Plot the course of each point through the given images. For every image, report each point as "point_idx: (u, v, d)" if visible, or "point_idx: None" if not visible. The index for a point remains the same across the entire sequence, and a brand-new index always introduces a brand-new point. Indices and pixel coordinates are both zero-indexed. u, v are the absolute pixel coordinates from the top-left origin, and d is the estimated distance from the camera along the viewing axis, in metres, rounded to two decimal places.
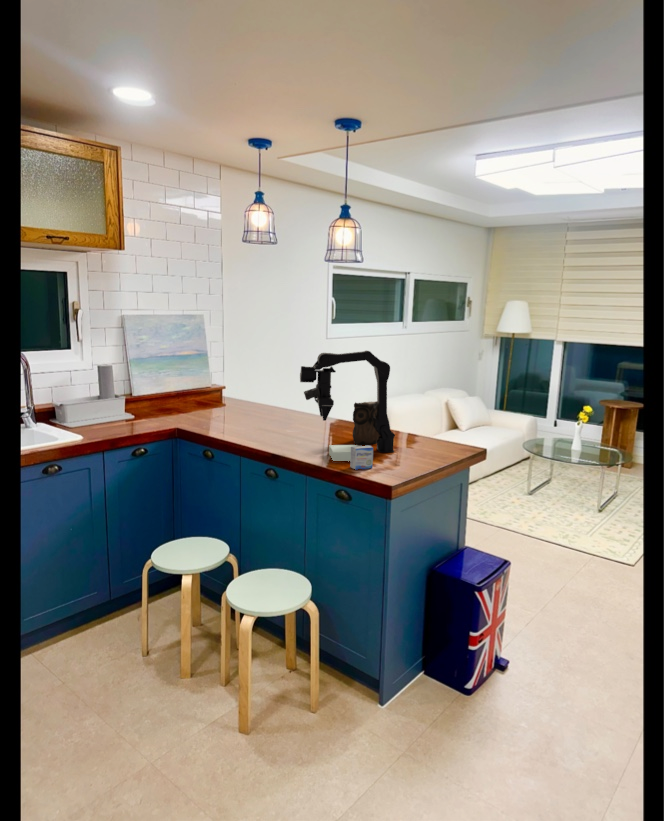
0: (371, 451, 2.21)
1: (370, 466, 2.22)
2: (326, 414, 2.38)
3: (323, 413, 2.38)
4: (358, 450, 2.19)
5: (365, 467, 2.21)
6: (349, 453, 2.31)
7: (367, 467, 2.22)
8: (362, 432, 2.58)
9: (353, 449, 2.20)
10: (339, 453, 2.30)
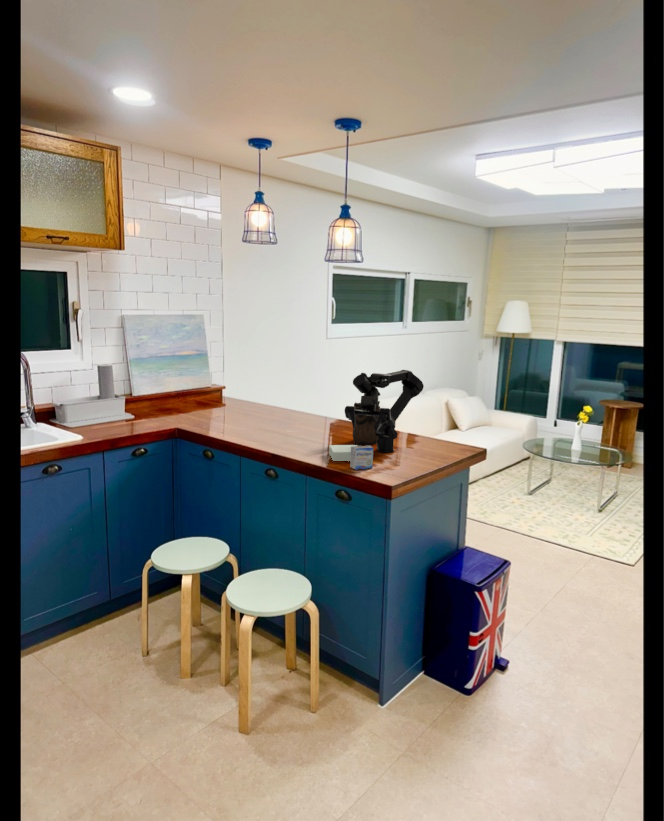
0: (371, 451, 2.21)
1: (370, 466, 2.22)
2: (379, 426, 2.29)
3: (379, 424, 2.28)
4: (358, 450, 2.19)
5: (365, 467, 2.21)
6: (349, 453, 2.31)
7: (367, 467, 2.22)
8: (362, 432, 2.58)
9: (353, 449, 2.20)
10: (339, 453, 2.30)
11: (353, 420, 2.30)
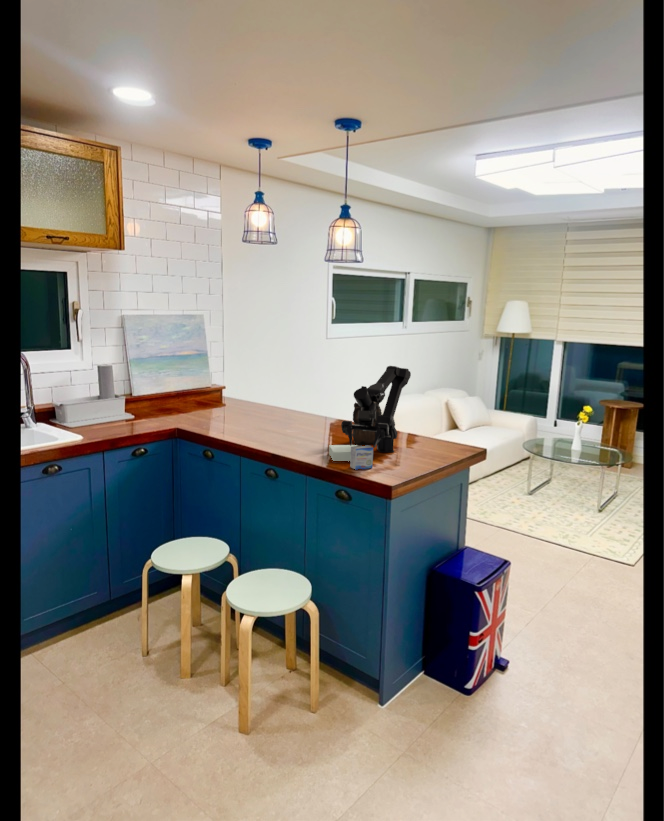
0: (371, 451, 2.21)
1: (370, 466, 2.22)
2: (377, 442, 2.23)
3: (377, 439, 2.22)
4: (358, 450, 2.19)
5: (365, 467, 2.21)
6: (349, 453, 2.31)
7: (367, 467, 2.22)
8: (362, 432, 2.58)
9: (353, 449, 2.20)
10: (339, 453, 2.30)
11: (350, 435, 2.24)
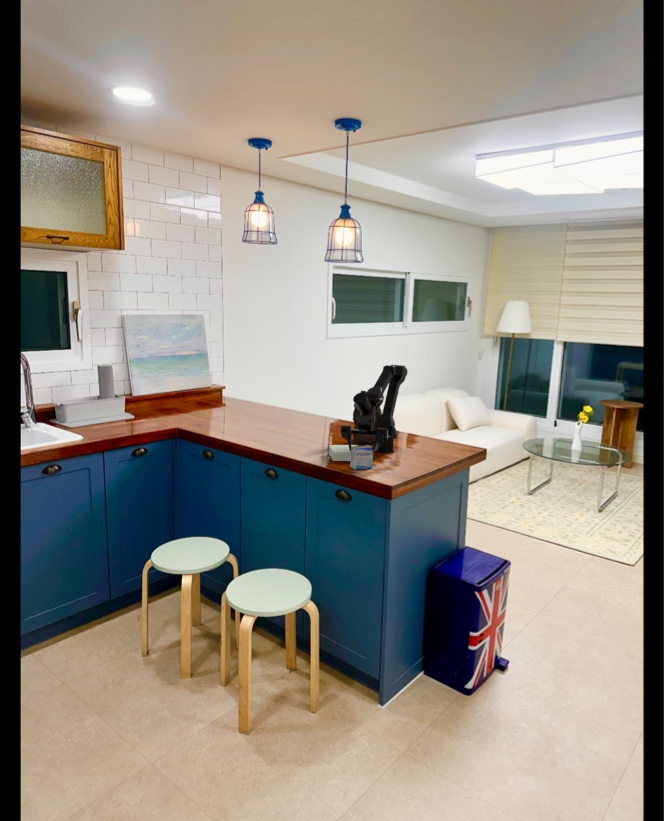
0: (371, 451, 2.21)
1: (370, 466, 2.22)
2: (376, 447, 2.21)
3: (376, 444, 2.21)
4: (358, 449, 2.19)
5: (365, 467, 2.21)
6: (349, 453, 2.31)
7: (367, 467, 2.22)
8: None
9: (353, 449, 2.20)
10: (339, 453, 2.30)
11: (349, 440, 2.23)
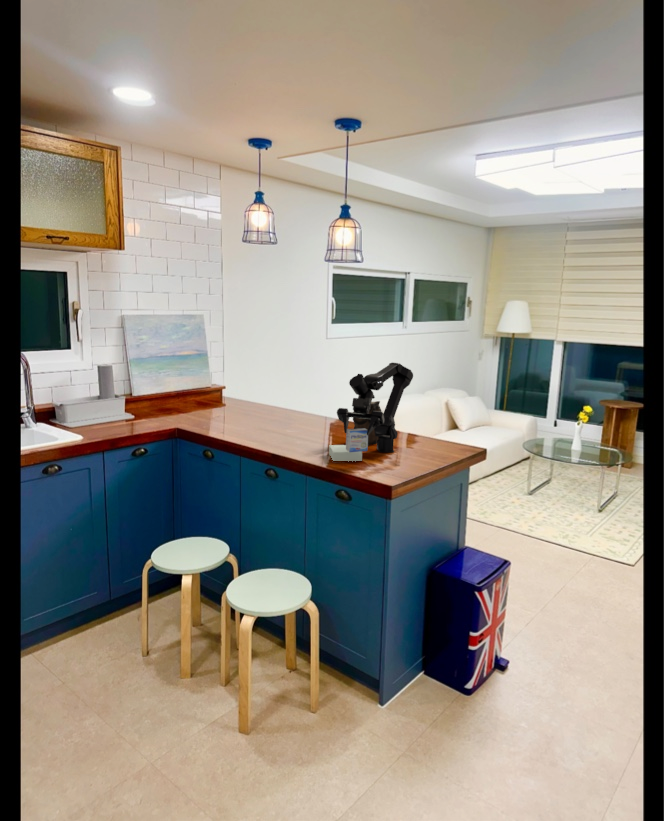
0: (366, 434, 2.23)
1: (365, 449, 2.24)
2: (371, 430, 2.23)
3: (371, 427, 2.22)
4: (353, 432, 2.21)
5: (360, 449, 2.23)
6: (349, 453, 2.31)
7: (362, 450, 2.23)
8: None
9: (348, 431, 2.22)
10: (339, 453, 2.30)
11: (345, 423, 2.25)
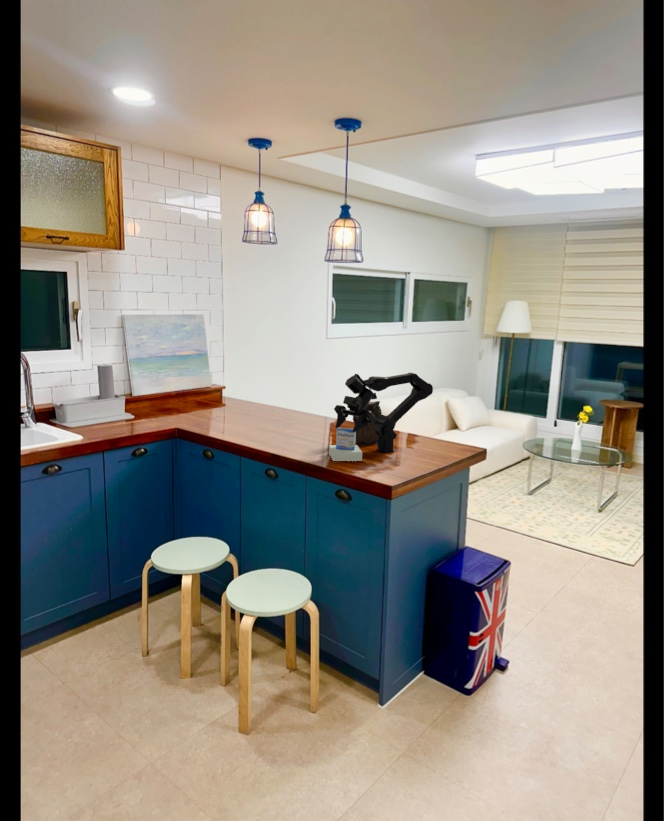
0: (353, 433, 2.33)
1: (352, 447, 2.34)
2: (359, 427, 2.32)
3: (358, 425, 2.31)
4: (339, 430, 2.33)
5: (346, 448, 2.34)
6: (349, 453, 2.31)
7: (349, 448, 2.34)
8: (362, 432, 2.58)
9: None
10: (339, 453, 2.30)
11: (338, 419, 2.38)
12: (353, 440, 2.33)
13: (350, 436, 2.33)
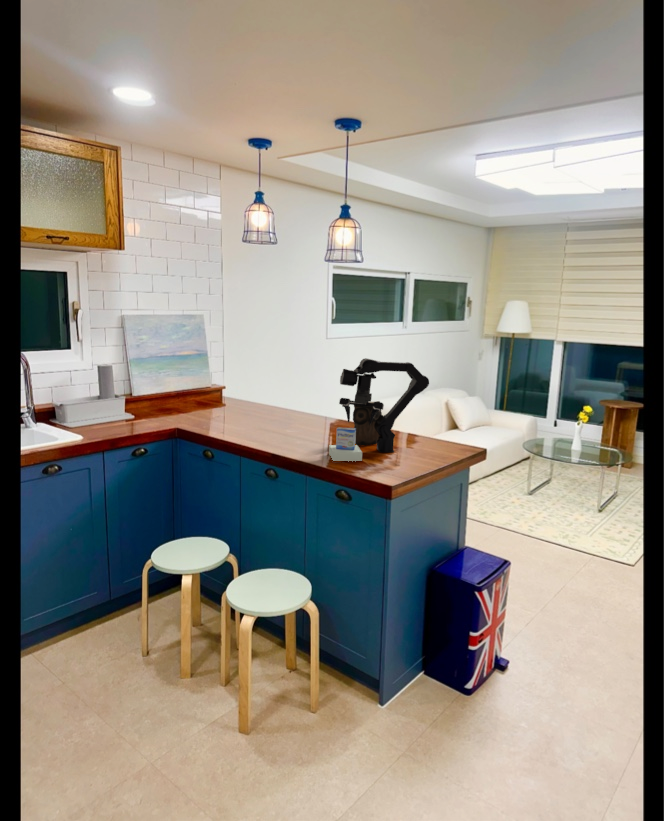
0: (353, 433, 2.33)
1: (352, 447, 2.34)
2: None
3: (373, 417, 2.41)
4: (339, 430, 2.33)
5: (346, 448, 2.34)
6: (349, 453, 2.31)
7: (349, 448, 2.34)
8: (362, 432, 2.58)
9: None
10: (339, 453, 2.30)
11: (348, 413, 2.42)
12: (353, 440, 2.33)
13: (350, 436, 2.33)
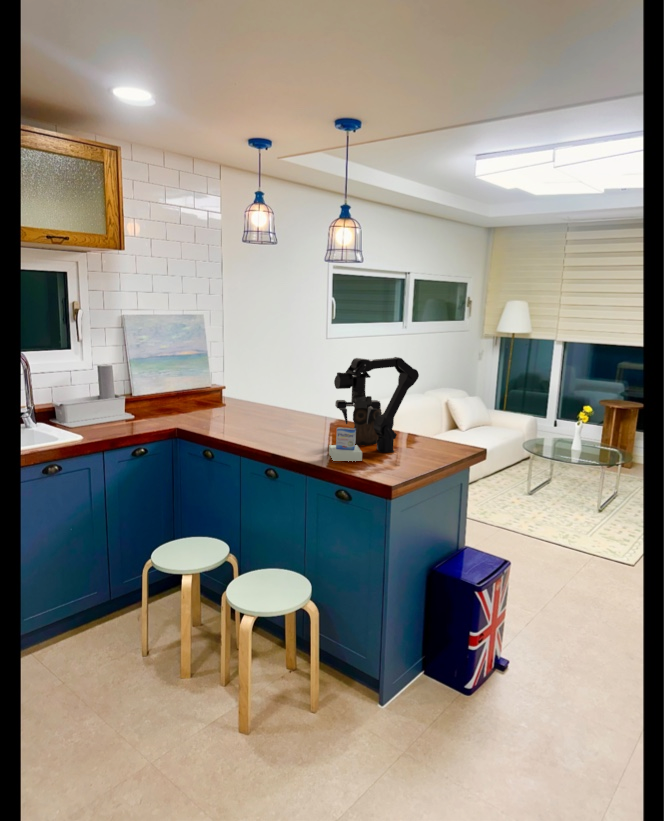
0: (353, 433, 2.33)
1: (352, 447, 2.34)
2: None
3: None
4: (339, 430, 2.33)
5: (346, 448, 2.34)
6: (349, 453, 2.31)
7: (349, 448, 2.34)
8: (362, 432, 2.58)
9: None
10: (339, 453, 2.30)
11: (346, 416, 2.40)
12: (353, 440, 2.33)
13: (350, 436, 2.33)
